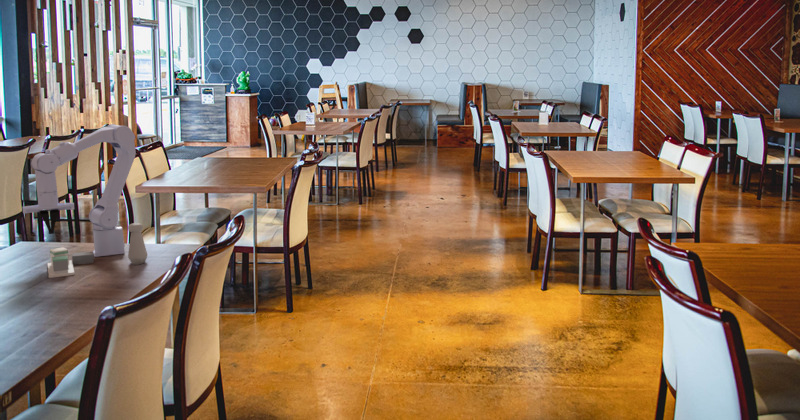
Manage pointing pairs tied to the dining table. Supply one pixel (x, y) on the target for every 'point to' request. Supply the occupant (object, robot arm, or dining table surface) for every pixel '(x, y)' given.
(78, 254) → the relay
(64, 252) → the block
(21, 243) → the dining table surface
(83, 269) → the dining table surface
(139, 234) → the salt shaker
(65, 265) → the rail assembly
